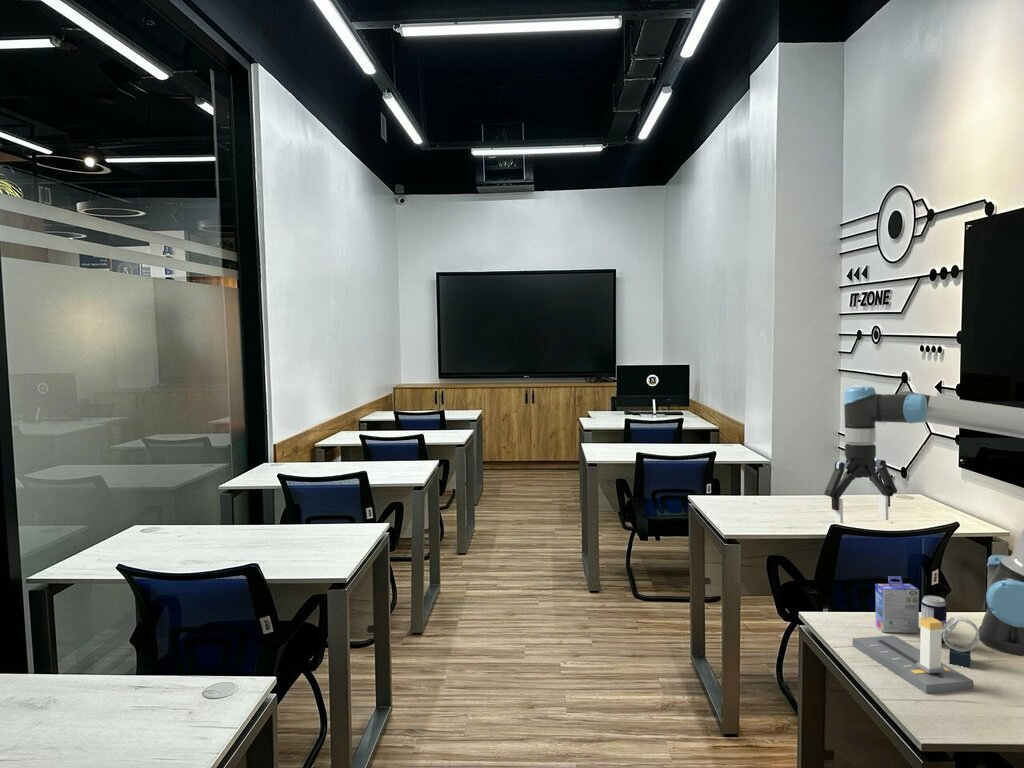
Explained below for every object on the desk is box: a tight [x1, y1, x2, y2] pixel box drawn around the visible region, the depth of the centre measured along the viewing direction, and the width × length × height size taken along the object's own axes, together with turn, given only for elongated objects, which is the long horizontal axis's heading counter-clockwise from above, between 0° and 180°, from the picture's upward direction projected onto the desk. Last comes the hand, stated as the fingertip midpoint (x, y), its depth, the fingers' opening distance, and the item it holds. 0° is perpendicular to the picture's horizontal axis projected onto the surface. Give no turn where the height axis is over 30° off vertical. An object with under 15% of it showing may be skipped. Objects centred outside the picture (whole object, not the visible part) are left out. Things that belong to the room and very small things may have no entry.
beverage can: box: [920, 594, 948, 647], centre depth 182 cm, size 6×6×12 cm
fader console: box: [852, 634, 975, 694], centre depth 169 cm, size 12×26×2 cm, turn 9°
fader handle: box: [916, 617, 944, 673], centre depth 162 cm, size 4×4×12 cm
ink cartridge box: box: [874, 575, 920, 634], centre depth 192 cm, size 10×6×14 cm, turn 87°
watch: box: [942, 616, 980, 669], centre depth 171 cm, size 6×8×11 cm
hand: (861, 520), depth 189 cm, fingers open, 13 cm apart
